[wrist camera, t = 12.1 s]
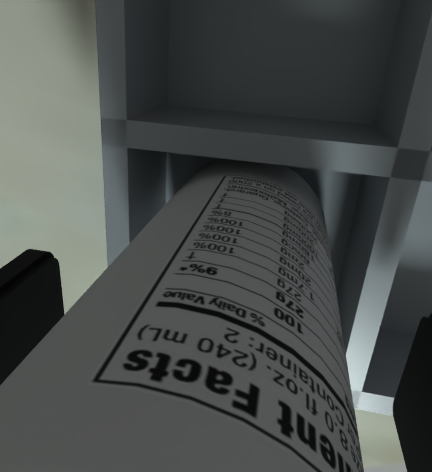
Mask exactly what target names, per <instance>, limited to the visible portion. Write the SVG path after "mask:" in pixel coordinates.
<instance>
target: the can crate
mask: <svg viewBox="0 0 432 472" xmlns="http://www.w3.org/2000/svg"><path fill="white" fill-rule="evenodd" d="M95 9H96V30H97V51H98V72H99V93H100V114H101V135H102V156H103V177H104V198H105V219H106V240H107V261H108V267H109V266H110V265H111V264H112V262H113V261H114V260H115V259H116V258H117V257H118V256H119V255H120V254H121V253H122V251H123V250H124V249H125V248H126V247H127V246H128V245H129V244H130V243H131V242H132V241H133V239H134V238H135V237H136V236H137V235H138V234H139V233H140V232H141V231H142V230H143V228H144V227H145V226H146V225H147V224H148V223H149V222H150V221H151V220H152V219H153V218H154V216H155V215H156V214H157V213H158V212H159V211H160V210H161V209H162V208H163V207H164V205H165V204H166V203H167V202H168V201H169V200H170V199H171V198H172V197H173V196H174V195H175V193H176V192H177V191H178V190H179V189H180V188H181V187H182V186H183V185H184V184H185V182H186V181H187V180H188V179H189V178H190V177H191V176H192V175H193V174H194V173H196V172H197V171H198V170H200V169H201V168H202V167H204V166H205V165H208V164H210V163H212V162H214V161H216V160H219V159H232V160H240V161H249V162H258V163H267V164H276V165H285V166H286V167H288V168H290V169H291V170H293V171H294V172H296V173H297V174H298V175H299V176H301V177H302V178H303V179H304V180H305V181H306V182H307V183H308V184H309V185H310V187H311V188H312V190H313V191H314V193H315V194H316V196H317V197H318V199H319V202H320V204H321V207H322V209H323V212H324V217H325V222H326V228H327V235H328V241H329V248H330V255H331V261H332V268H333V274H334V281H335V287H336V294H337V300H338V307H339V313H340V320H341V326H342V333H343V339H344V346H345V352H346V359H347V365H348V372H349V378H350V385H351V391H352V398H353V405H354V408H355V409H360V410H365V411H370V412H375V413H380V414H386V415H391V416H393V401H394V398H395V395H396V392H397V389H398V386H399V383H400V380H401V377H402V374H403V371H404V368H405V365H406V361H407V358H408V355H409V352H410V349H411V346H412V343H413V340H414V337H415V334H416V331H417V328H418V325H419V322H420V320H421V318H422V317H429V315H430V314H431V313H432V0H95Z"/></svg>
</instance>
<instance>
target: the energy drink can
mask: <svg viewBox="0 0 432 472" xmlns="http://www.w3.org/2000/svg"><path fill="white" fill-rule="evenodd" d="M0 472H364V470H363V463H362V457H361V450H360V444H359V437H358V431H357V424H356V418H355V411H354V405H353V398H352V391H351V385H350V378H349V372H348V365H347V359H346V352H345V346H344V339H343V333H342V326H341V320H340V313H339V307H338V300H337V294H336V287H335V281H334V274H333V268H332V261H331V255H330V248H329V241H328V235H327V228H326V222H325V217H324V212H323V209H322V207H321V204H320V202H319V199H318V197H317V196H316V194H315V193H314V191H313V190H312V188H311V187H310V185H309V184H308V183H307V182H306V181H305V180H304V179H303V178H302V177H301V176H299V175H298V174H297V173H296V172H294V171H293V170H291V169H290V168H288V167H286V166H285V165H276V164H267V163H258V162H249V161H240V160H232V159H219V160H216V161H214V162H212V163H210V164H208V165H205V166H204V167H202V168H201V169H200V170H198V171H197V172H196V173H194V174H193V175H192V176H191V177H190V178H189V179H188V180H187V181H186V182H185V184H184V185H183V186H182V187H181V188H180V189H179V190H178V191H177V192H176V193H175V195H174V196H173V197H172V198H171V199H170V200H169V201H168V202H167V203H166V204H165V205H164V207H163V208H162V209H161V210H160V211H159V212H158V213H157V214H156V215H155V216H154V218H153V219H152V220H151V221H150V222H149V223H148V224H147V225H146V226H145V227H144V228H143V230H142V231H141V232H140V233H139V234H138V235H137V236H136V237H135V238H134V239H133V241H132V242H131V243H130V244H129V245H128V246H127V247H126V248H125V249H124V250H123V251H122V253H121V254H120V255H119V256H118V257H117V258H116V259H115V260H114V261H113V262H112V264H111V265H110V266H109V267H108V268H107V269H106V270H105V271H104V272H103V273H102V274H101V276H100V277H99V278H98V279H97V280H96V281H95V282H94V283H93V284H92V285H91V287H90V288H89V289H88V290H87V291H86V292H85V293H84V294H83V295H82V296H81V297H80V299H79V300H78V301H77V302H76V303H75V304H74V305H73V306H72V307H71V308H70V310H69V311H68V312H67V313H66V314H65V315H64V316H63V317H62V318H61V319H60V320H59V322H58V323H57V324H56V325H55V326H54V327H53V328H52V329H51V330H50V331H49V333H48V334H47V335H46V336H45V337H44V338H43V339H42V340H41V341H40V342H39V343H38V345H37V346H36V347H35V348H34V349H33V350H32V351H31V352H30V353H29V354H28V356H27V357H26V358H25V359H24V360H23V361H22V362H21V363H20V364H19V365H18V366H17V368H16V369H15V370H14V371H13V372H12V373H11V374H10V375H9V376H8V377H7V379H6V380H5V381H4V382H3V383H2V384H1V385H0Z"/></svg>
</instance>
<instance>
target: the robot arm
mask: <svg viewBox="0 0 432 472" xmlns="http://www.w3.org/2000/svg"><path fill="white" fill-rule="evenodd" d="M63 316H64V306H63V297H62V287H61V278H60V268H59V262H58V260H57V259H56V258H54V256H53V254H52V253H51V252H47V251H40V250H34V249H28V250H26V251H25V252H23V253H22V254H20V255H19V256H18V257H16V258H15V259H13V260H12V261H10V262H9V263H8V264H6V265H5V266H3V267H2V268H1V269H0V385H1V384H2V383H3V382H4V381H5V380H6V379H7V377H8V376H9V375H10V374H11V373H12V372H13V371H14V370H15V369H16V368H17V366H18V365H19V364H20V363H21V362H22V361H23V360H24V359H25V358H26V357H27V356H28V354H29V353H30V352H31V351H32V350H33V349H34V348H35V347H36V346H37V345H38V343H39V342H40V341H41V340H42V339H43V338H44V337H45V336H46V335H47V334H48V333H49V331H50V330H51V329H52V328H53V327H54V326H55V325H56V324H57V323H58V322H59V320H60V319H61V318H62V317H63ZM393 417H394V421H395V425H396V429H397V433H398V436H399V440H400V444H401V448H402V452H403V456H404V460H405V464H406V468H407V472H432V313H431V314H430V315H429V317H422V318H421V320H420V322H419V325H418V328H417V331H416V334H415V337H414V340H413V343H412V346H411V349H410V352H409V355H408V358H407V361H406V365H405V368H404V371H403V374H402V377H401V380H400V383H399V386H398V389H397V392H396V395H395V398H394V401H393Z"/></svg>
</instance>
